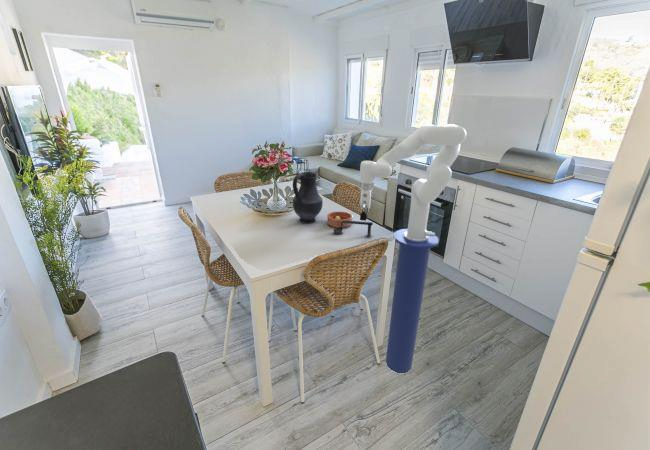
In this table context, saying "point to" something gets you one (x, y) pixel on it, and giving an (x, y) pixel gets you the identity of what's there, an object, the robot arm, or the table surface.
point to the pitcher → (307, 197)
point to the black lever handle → (339, 231)
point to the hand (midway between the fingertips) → (363, 216)
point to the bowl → (337, 223)
